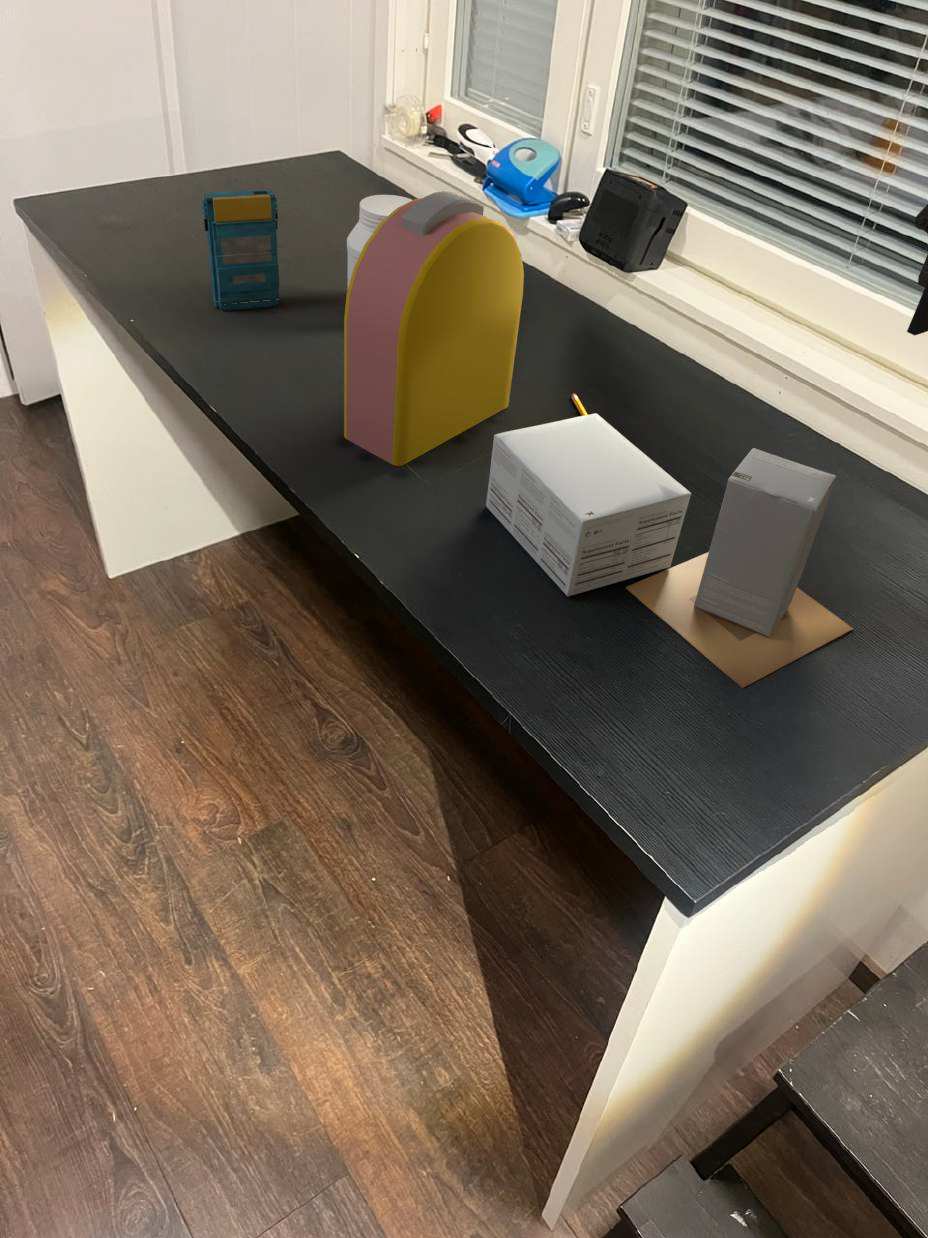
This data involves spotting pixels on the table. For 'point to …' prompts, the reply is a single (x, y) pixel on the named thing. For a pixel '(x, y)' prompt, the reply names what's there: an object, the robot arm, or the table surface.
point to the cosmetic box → (762, 540)
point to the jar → (369, 224)
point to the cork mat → (736, 625)
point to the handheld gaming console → (242, 248)
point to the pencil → (578, 405)
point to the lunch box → (430, 327)
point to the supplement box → (585, 502)
